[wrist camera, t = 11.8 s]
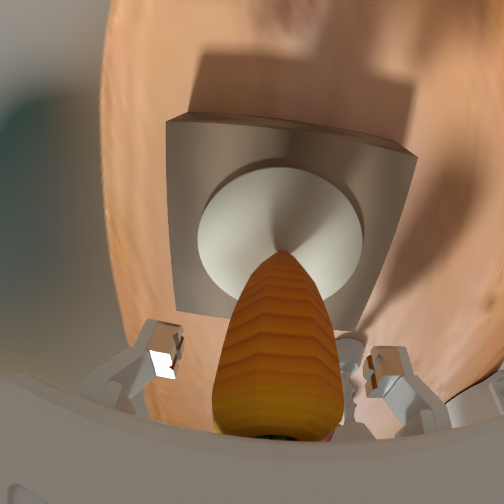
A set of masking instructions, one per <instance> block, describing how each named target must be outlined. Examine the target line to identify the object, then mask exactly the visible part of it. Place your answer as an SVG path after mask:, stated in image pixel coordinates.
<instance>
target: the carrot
mask: <svg viewBox="0 0 504 504" xmlns="http://www.w3.org/2000/svg"><path fill="white" fill-rule="evenodd" d="M212 412H213V424H214V429H215V430H216V431H217V432H218V433H219V434H225V435H232V436H240V437H248V438H258V439H269V440H283V441H306V442H322V441H323V440H324V439H325V438H326V437H327V436H328V435H329V434H330V433H331V431H332V430H333V429H334V428H335V427H336V426H337V425H338V424H339V423H340V421H341V420H342V416H343V412H344V394H343V386H342V379H341V371H340V364H339V358H338V352H337V347H336V342H335V337H334V332H333V327H332V323H331V321H330V318H329V315H328V312H327V310H326V307H325V304H324V302H323V299H322V297H321V295H320V293H319V290H318V288H317V286H316V284H315V282H314V281H313V279H312V278H311V277H310V275H309V274H308V273H307V271H306V270H305V269H304V268H303V266H302V265H301V264H300V263H299V262H298V261H297V259H296V258H295V257H294V256H293V255H291V254H290V253H289V252H287V251H280V250H279V251H278V252H276V253H274V254H273V255H272V256H270V257H269V258H268V259H266V260H265V261H264V262H262V263H261V264H260V265H259V266H258V267H257V269H256V270H255V271H254V272H253V273H252V274H251V275H250V277H249V279H248V281H247V283H246V285H245V287H244V289H243V291H242V293H241V295H240V297H239V299H238V302H237V304H236V306H235V308H234V310H233V313H232V316H231V319H230V323H229V327H228V330H227V334H226V337H225V341H224V344H223V348H222V352H221V356H220V361H219V365H218V369H217V373H216V377H215V382H214V386H213V392H212Z"/></svg>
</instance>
